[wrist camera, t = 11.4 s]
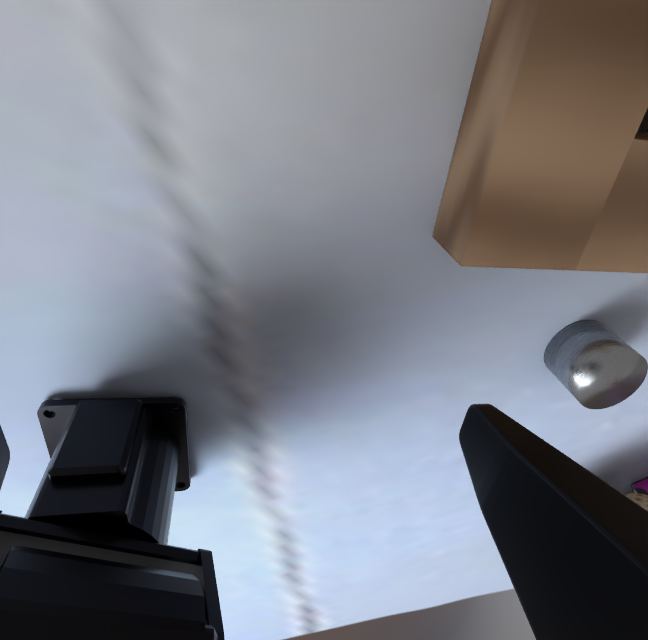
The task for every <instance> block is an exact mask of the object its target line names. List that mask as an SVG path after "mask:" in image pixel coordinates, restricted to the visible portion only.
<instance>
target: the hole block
mask: <svg viewBox="0 0 648 640" xmlns="http://www.w3.org/2000/svg"><path fill="white" fill-rule="evenodd" d="M647 108H648V0H492V3H491V7H490V11H489V15H488V19H487V22H486V26H485V30H484V34H483V38H482V42H481V46H480V50H479V54H478V58H477V62H476V66H475V70H474V74H473V78H472V82H471V86H470V90H469V94H468V98H467V102H466V106H465V110H464V113H463V117H462V121H461V125H460V129H459V133H458V137H457V141H456V145H455V149H454V153H453V157H452V161H451V165H450V169H449V173H448V177H447V181H446V185H445V189H444V193H443V197H442V200H441V204H440V208H439V212H438V216H437V220H436V224H435V228H434V232H433V236H432V237H433V238H434V239H435V240H436V241H437V242H438V243H439V244H440V245H441V246H442V247H443V248H444V249H445V250H446V251H447V252H448V253H449V254H450V255H451V256H452V257H453V258H454V259H455V260H456V261H457V263H458V264H459V265H460V266H473V267H500V268H526V269H553V270H579V271H606V272H632V273H648V132H639V131H638V128H639V126H640V124H641V122H642V119H643V117H644V115H645V113H646V111H647Z"/></svg>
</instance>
